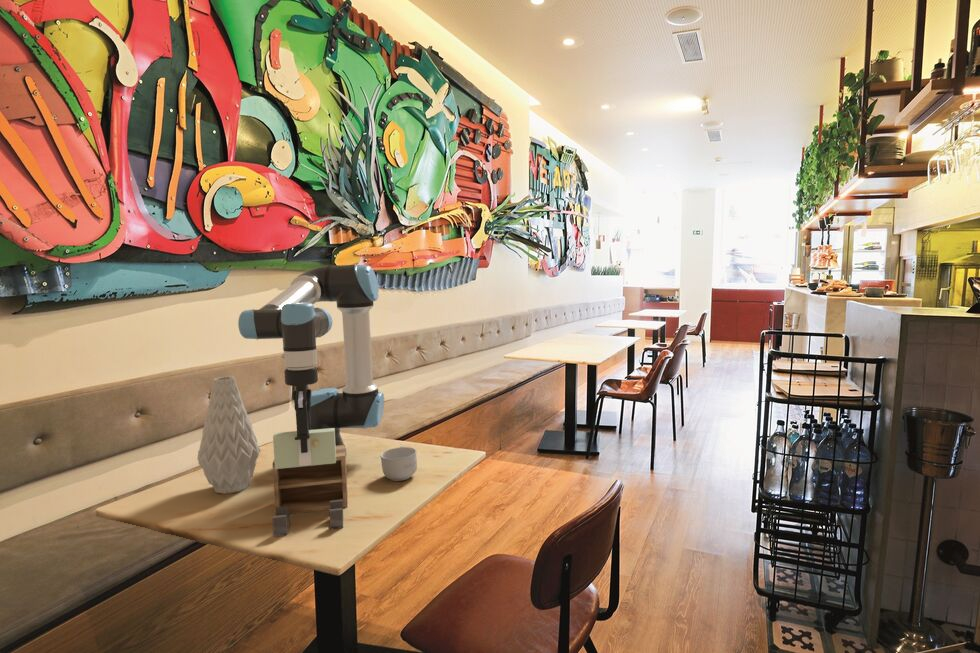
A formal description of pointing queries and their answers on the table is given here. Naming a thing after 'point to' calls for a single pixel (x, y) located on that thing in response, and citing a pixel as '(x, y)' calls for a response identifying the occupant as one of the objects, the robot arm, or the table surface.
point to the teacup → (399, 463)
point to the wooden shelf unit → (310, 491)
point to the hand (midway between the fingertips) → (306, 462)
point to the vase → (227, 439)
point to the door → (289, 452)
